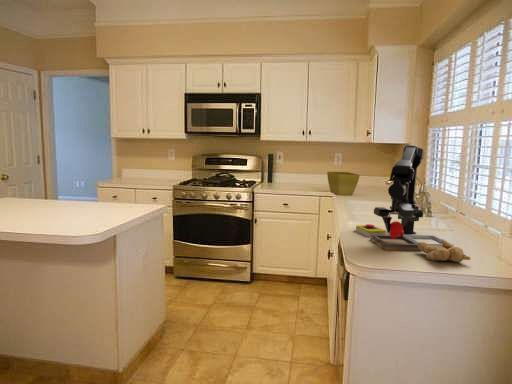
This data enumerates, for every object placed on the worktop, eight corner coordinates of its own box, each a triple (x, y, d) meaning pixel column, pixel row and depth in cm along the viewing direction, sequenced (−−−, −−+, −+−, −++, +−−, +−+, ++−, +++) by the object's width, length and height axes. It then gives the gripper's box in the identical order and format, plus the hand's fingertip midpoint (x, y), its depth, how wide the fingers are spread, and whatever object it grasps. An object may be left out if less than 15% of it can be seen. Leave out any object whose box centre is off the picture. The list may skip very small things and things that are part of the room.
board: (370, 240, 162) (370, 234, 161) (403, 240, 163) (403, 235, 163) (385, 250, 147) (385, 244, 146) (421, 251, 148) (422, 245, 148)
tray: (402, 237, 168) (403, 234, 168) (433, 238, 170) (433, 235, 169) (420, 247, 154) (420, 243, 154) (453, 248, 155) (453, 244, 155)
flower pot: (358, 195, 292) (360, 174, 290) (337, 196, 287) (338, 174, 284) (345, 192, 310) (347, 172, 308) (325, 192, 304) (326, 171, 302)
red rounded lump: (388, 225, 160) (384, 220, 155) (403, 222, 157) (399, 217, 152) (391, 243, 156) (387, 238, 151) (406, 240, 153) (402, 235, 148)
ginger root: (475, 266, 128) (471, 243, 128) (425, 271, 133) (421, 248, 133) (463, 255, 143) (460, 234, 143) (419, 259, 148) (415, 239, 148)
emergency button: (370, 221, 181) (390, 229, 167) (369, 230, 181) (389, 238, 167) (353, 222, 178) (372, 229, 164) (352, 231, 179) (371, 239, 164)
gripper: (386, 198, 143) (382, 237, 145) (432, 199, 145) (428, 238, 147) (374, 193, 154) (371, 230, 156) (417, 194, 156) (413, 231, 158)
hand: (396, 232), depth 154 cm, fingers closed on red rounded lump, 6 cm apart
